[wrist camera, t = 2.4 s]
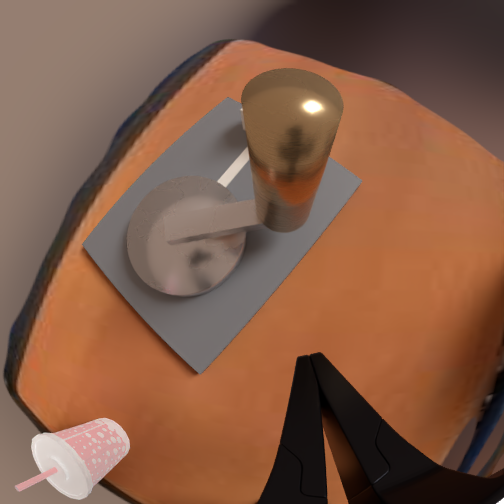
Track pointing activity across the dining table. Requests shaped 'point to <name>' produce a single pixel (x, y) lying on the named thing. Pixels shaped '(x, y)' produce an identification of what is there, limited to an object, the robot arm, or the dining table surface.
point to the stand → (256, 250)
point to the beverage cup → (78, 456)
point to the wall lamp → (223, 201)
